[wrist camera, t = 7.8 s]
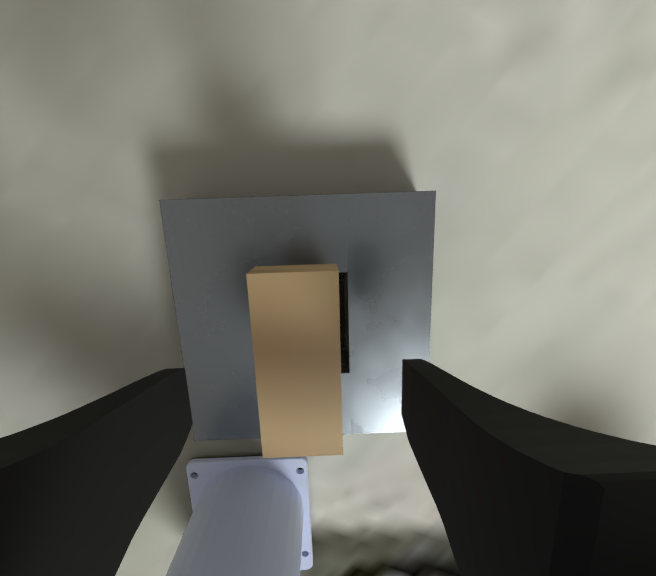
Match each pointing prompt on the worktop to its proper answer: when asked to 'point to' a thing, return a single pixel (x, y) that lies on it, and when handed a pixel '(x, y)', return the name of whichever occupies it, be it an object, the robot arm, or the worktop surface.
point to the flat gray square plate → (301, 249)
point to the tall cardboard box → (297, 358)
